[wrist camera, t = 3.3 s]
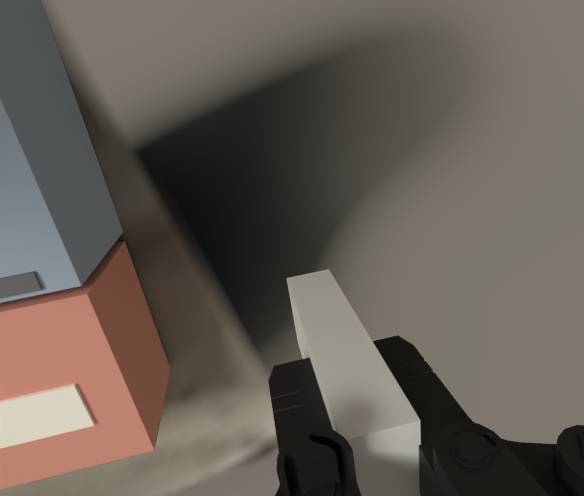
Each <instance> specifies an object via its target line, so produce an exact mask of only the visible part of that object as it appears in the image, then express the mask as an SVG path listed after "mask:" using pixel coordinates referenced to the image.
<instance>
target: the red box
mask: <svg viewBox="0 0 584 496" xmlns="http://www.w3.org/2000/svg"><path fill="white" fill-rule="evenodd" d="M170 370H171V368H170V366H169V363H168V360H167V357H166V355H165V352H164V349H163V346H162V343H161V341H160V338H159V335H158V332H157V330H156V327H155V324H154V321H153V318H152V316H151V313H150V310H149V307H148V305H147V302H146V299H145V296H144V293H143V291H142V288H141V285H140V282H139V280H138V277H137V274H136V271H135V268H134V266H133V263H132V260H131V257H130V255H129V252H128V249H127V246H126V243H125V241H123V242H118V243H114V245H113V246H112V247H111V248H110V250H109V251H108V252H107V254H106V255H105V256H104V258H103V259H102V260H101V261H100V263H99V264H98V265H97V267H96V268H95V269H94V270H93V272H92V273H91V274H90V276H89V277H88V278H87V280H86V281H85V282H84V283H83V285H82V286H79V287H74V288H69V289H65V290H60V291H55V292H50V293H45V294H40V295H36V296H31V297H26V298H21V299H16V300H11V301H7V302H2V303H0V490H1V489H5V488H9V487H13V486H17V485H21V484H25V483H28V482H32V481H36V480H40V479H44V478H48V477H52V476H56V475H60V474H64V473H68V472H72V471H75V470H79V469H83V468H87V467H91V466H95V465H99V464H103V463H107V462H111V461H115V460H118V459H122V458H126V457H130V456H134V455H138V454H142V453H146V452H150V451H154V450H155V445H156V440H157V435H158V430H159V425H160V420H161V415H162V410H163V405H164V400H165V395H166V390H167V385H168V380H169V375H170Z"/></svg>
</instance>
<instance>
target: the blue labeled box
mask: <svg viewBox="0 0 584 496" xmlns="http://www.w3.org/2000/svg"><path fill="white" fill-rule="evenodd" d="M122 233H123V229H122V227H121V224H120V221H119V218H118V215H117V213H116V210H115V207H114V204H113V201H112V199H111V196H110V193H109V190H108V187H107V185H106V182H105V179H104V176H103V173H102V171H101V168H100V165H99V162H98V159H97V157H96V154H95V151H94V148H93V145H92V143H91V140H90V137H89V134H88V131H87V129H86V126H85V123H84V120H83V117H82V115H81V112H80V109H79V106H78V104H77V101H76V98H75V95H74V92H73V90H72V87H71V84H70V81H69V78H68V76H67V73H66V70H65V67H64V64H63V62H62V59H61V56H60V53H59V50H58V48H57V45H56V42H55V39H54V36H53V34H52V31H51V28H50V25H49V22H48V20H47V17H46V14H45V11H44V8H43V6H42V3H41V0H0V303H2V302H7V301H11V300H16V299H21V298H26V297H31V296H36V295H40V294H45V293H50V292H55V291H60V290H65V289H69V288H74V287H79V286H82V285H83V283H84V282H85V281H86V280H87V278H88V277H89V276H90V274H91V273H92V272H93V270H94V269H95V268H96V267H97V265H98V264H99V263H100V261H101V260H102V259H103V258H104V256H105V255H106V254H107V252H108V251H109V250H110V248H111V247H112V246H113V245H114V243H115V242H116V241H117V239H118V238H119V237H120V236H121V234H122Z"/></svg>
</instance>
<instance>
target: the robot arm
mask: <svg viewBox="0 0 584 496" xmlns="http://www.w3.org/2000/svg"><path fill="white" fill-rule="evenodd" d="M287 283H288V289H289V294H290V300H291V305H292V311H293V317H294V323H295V328H296V334H297V339H298V344H299V347H300V350H301V354H302V358H303V359H301V360H297V361H293V362H288V363H284V364H280V365H276V366H274V367H273V370H272V373H271V376H270V379H269V388H270V394H271V401H272V408H273V415H274V421H275V428H276V435H277V442H278V448H279V454H278V458H277V474H278V478H279V482H280V486H279V489H278V491H277V493H276V495H275V496H584V426H582V425H576V426H573V427H570V428H566V429H564V430H563V432H562V433H561V434H560V435H559V436H558V440H557V444H541V443H520V442H514V441H507V440H504V439H501V438H500V437H499V436H498V435H497V434H495V433H494V432H493V431H492V430H490V429H488V428H486V427H484V426H482V425H480V424H476V423H474V422H473V421H472V420H471V419H470V418H469V417H468V416H467V414H466V413H465V412H464V411H463V409H462V408H461V407H460V405H459V404H458V403H457V401H456V400H455V399H454V398H453V396H452V395H451V394H450V392H449V391H448V390H447V388H446V387H445V386H444V384H443V383H442V382H441V380H440V379H439V378H438V377H437V375H436V374H435V373H433V371H432V369H431V367H430V366H429V365H428V364H427V362H425V361H424V358H423V357H422V356H421V354H420V353H419V352H418V351H417V349H416V348H415V347H414V345H412V344H411V343H409V342H407V341H406V340H404V339H403V338H401V337H399V336H394V337H390V338H385V339H381V340H377V341H372V340H371V338H370V336H369V335H368V333H367V332H366V330H365V328H364V327H363V325H362V323H361V322H360V320H359V318H358V317H357V315H356V314H355V312H354V310H353V309H352V307H351V305H350V304H349V302H348V300H347V299H346V297H345V296H344V294H343V292H342V290H341V289H340V287H339V285H338V284H337V282H336V280H335V279H334V277H333V275H332V274H331V272H330V271H329V269H328V270H323V271H319V272H314V273H309V274H305V275H299V276H295V277H290V278H287Z"/></svg>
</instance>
